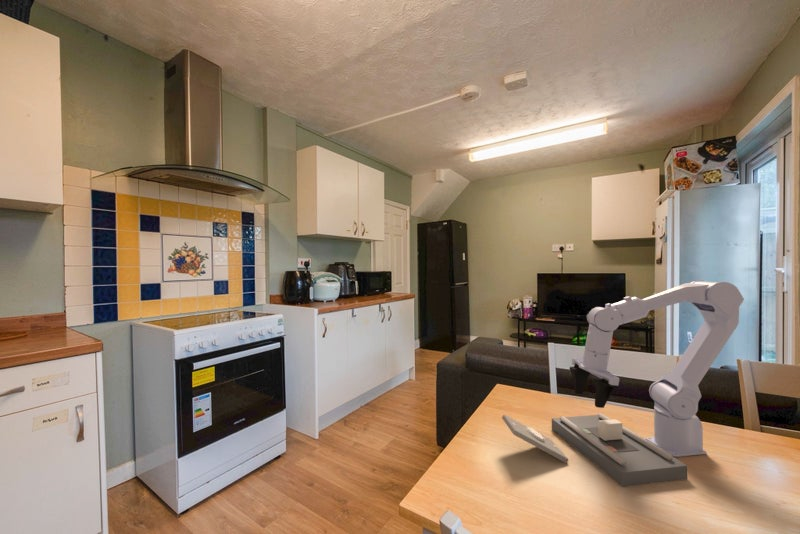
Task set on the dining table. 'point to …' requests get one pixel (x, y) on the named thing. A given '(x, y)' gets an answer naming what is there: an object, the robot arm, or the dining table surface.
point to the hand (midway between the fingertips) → (588, 400)
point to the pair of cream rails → (607, 450)
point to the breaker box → (621, 455)
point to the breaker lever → (610, 429)
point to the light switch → (534, 438)
